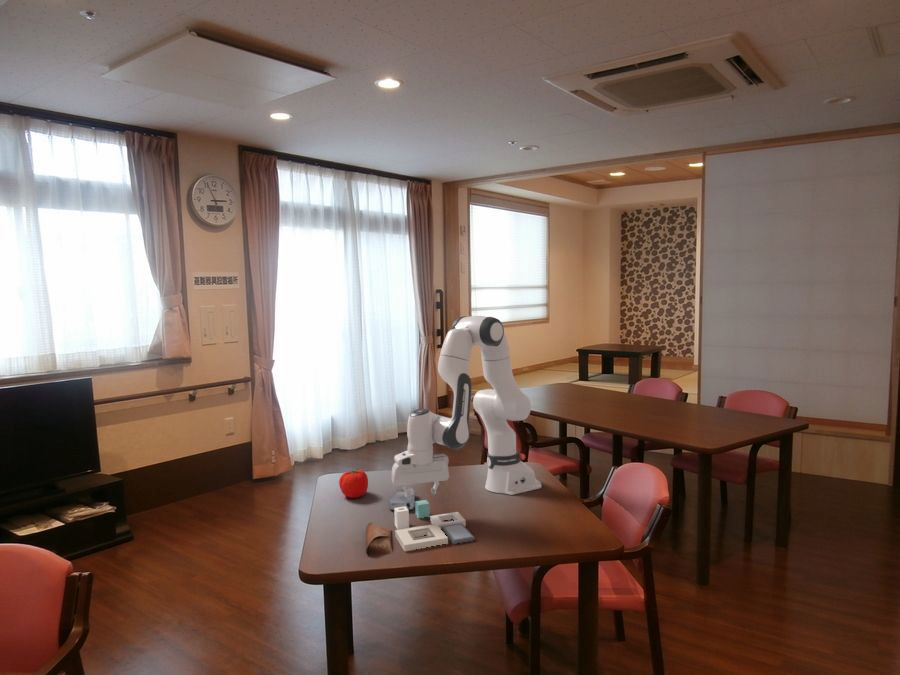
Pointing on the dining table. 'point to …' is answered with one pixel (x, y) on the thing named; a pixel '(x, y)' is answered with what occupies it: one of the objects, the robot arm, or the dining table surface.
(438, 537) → the outlet plate
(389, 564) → the dining table surface
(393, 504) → the handheld device
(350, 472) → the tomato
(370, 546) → the sunglasses case
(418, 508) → the teal small block
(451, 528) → the phone dock
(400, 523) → the charger
